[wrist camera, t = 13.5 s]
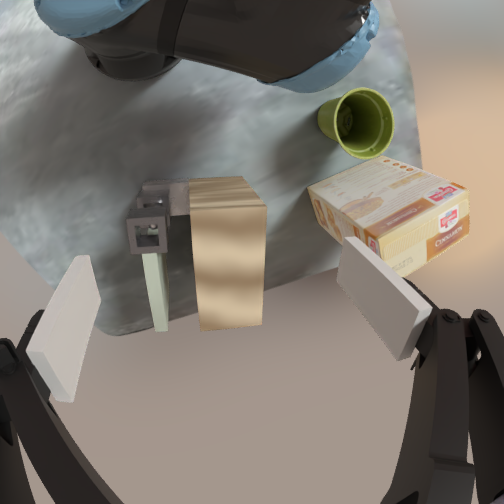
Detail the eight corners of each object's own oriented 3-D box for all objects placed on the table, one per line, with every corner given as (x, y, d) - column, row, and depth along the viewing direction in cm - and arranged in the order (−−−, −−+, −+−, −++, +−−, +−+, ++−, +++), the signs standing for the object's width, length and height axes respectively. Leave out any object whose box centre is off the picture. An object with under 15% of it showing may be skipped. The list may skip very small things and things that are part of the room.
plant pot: (363, 94, 39) (397, 95, 31) (358, 151, 43) (390, 162, 36) (308, 85, 37) (336, 81, 29) (304, 146, 41) (330, 156, 34)
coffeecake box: (317, 225, 48) (384, 291, 31) (305, 186, 44) (376, 238, 27) (390, 191, 48) (470, 236, 31) (382, 153, 44) (470, 187, 27)
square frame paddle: (139, 191, 36) (125, 219, 28) (169, 189, 37) (164, 216, 28) (151, 287, 43) (146, 332, 35) (177, 286, 44) (177, 330, 35)
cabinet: (145, 181, 39) (126, 214, 27) (242, 175, 41) (267, 204, 29) (156, 275, 46) (150, 335, 33) (241, 268, 48) (261, 324, 36)
